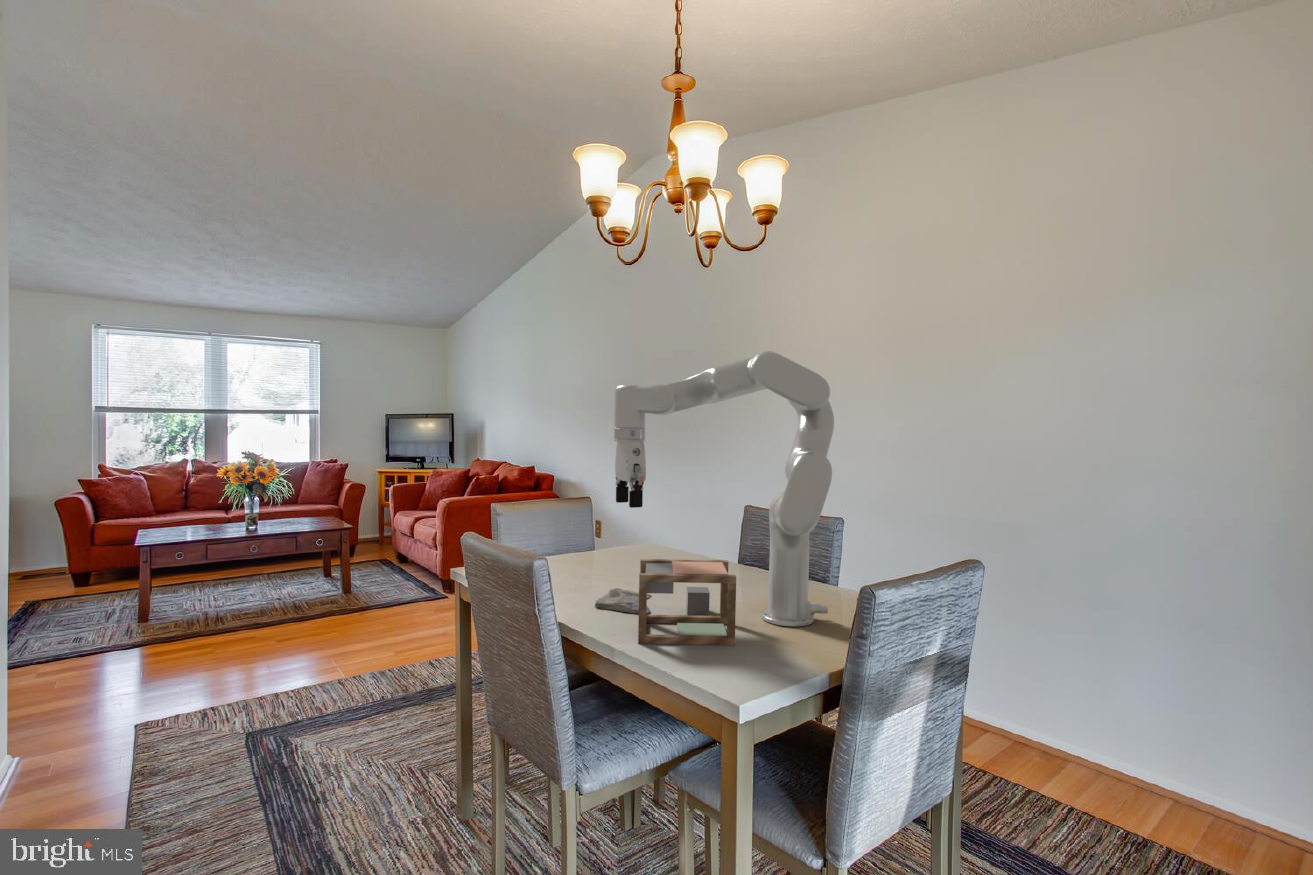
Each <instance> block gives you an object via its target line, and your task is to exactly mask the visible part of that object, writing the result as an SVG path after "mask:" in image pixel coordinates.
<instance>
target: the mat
mask: <svg viewBox="0 0 1313 875" xmlns="http://www.w3.org/2000/svg"><path fill="white" fill-rule="evenodd" d="M676 625H677V626H676V627H677V635H714V636H727V629H726V627H725V624H714V623H676Z"/></svg>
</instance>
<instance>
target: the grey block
mask: <svg viewBox="0 0 1313 875" xmlns="http://www.w3.org/2000/svg"><path fill="white" fill-rule="evenodd" d="M710 595H711V594H710V590H709V587H708V586H707V587H706V586H702V587H701V586H686V600H685V601H686V604H685V605H686V606H685V611H687V612H686V615H698V616H710Z"/></svg>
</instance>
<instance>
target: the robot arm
mask: <svg viewBox="0 0 1313 875" xmlns="http://www.w3.org/2000/svg"><path fill="white" fill-rule="evenodd" d="M763 390H769V391H771V392H773V393H774V394H776V395H778V396H781V398H783V399H786V400H788V403H789V404H790V405H791V406H792V408H794V410H795V411H796V413H797V418H798V424H797V429H796V432H795V436H794V440H793V443H792V446H791V448H790V452H789V454H788V457H787V460H786V463H785V467H784V474H785V477H786V478H787V483H786V486H785V490H784V491H780V492H779V493H778V494H776V495H774V497H773V499H772V500H771V503H770V504H769V511H768V522H769V523H768V525H769V562H768V563H769V567H768V569H769V570H768V571H769V573H768V605H767V606H768V607H767V608H766V609H764V610H763V611H762V612H761V618H762V619H763V620H764V621H765V622H767V623H770V624H773V625H777V626H783V627H805V626H809V625H811V624H813V623H814V621H815V616H814V615H815V614H821V615H823V614H824V615H825V614H828V610H829V608H828V606H827V605H820V603H811V602H810V601H809V578H810V577H809V576H810V575H809V571H810V569H809V566H810V533H811V532H812V531H814V529H815V528H816V527H817V524H818V522H819V521H820V518H821V514H822V511H823V509H824V506H825V503H826V500H827V497H828V492H829V491H830V490H829V489H830V486H831V483H832V480H833V468H832V464H831V462H830V460H829V459H828V452H829V449H830V445H831V442H832V438H833V435H834V428H835V418H834V417H835V416H834V412H833V408H832V406H831V403H830V401H829V398H830V395H831V388H830V385H829V382H828V381H827V380H826V379H825V378H824V376H822V375H821V374H819V373H817V372H815V371H813V370H811V369H809V368H807V367H805V366H803V365H801V364H799V363H798V362H795V361H793V360H791V359H789V358H787V357H786V356H783V355H782V354H780V353H778V352H775V351H769V350H768V351H767V350H766V351H762V352H760V353H757V355H754V356H750V357H747V358H743V359H739V360H736V361H733V362H728V363H725V364H721V365H718V366H714V367H711V368H708V369H705V370H704V371H702V372H700V373H697V374H695V375H693V376H690V377H688V378H685V379H680V380H678V381H674V382H670V383H667V384H663V383H659V384H657V383H656V384H649V385H638V384H621V385H617V386H616V387H615V391H614V431H613V432H614V437H613V438H614V439H613V441H614V442H616V445H615V446H616V448H615V460H614V461H615V466H614V467H615V468H614V470H615V471H614V472H615V473H614V474H615V480H616V481H615V502H616V503H617V504H618V503H629V504H628V506H629V508H631V509H633V508H636V509H637V508H642V507H643V504H644V503H643V500H644V499H643V494H644V492H643V491H644V483H645V481H646V480H647V467H646V466H647V465H646V464H647V463H646V462H647V461H646V448H645V442H646V414H650V415H651V414H652V415H656V416H666V415H670V414H673V413H677V412H681V411H684V410H687V409H690V408H694V407H698V406H702V405H703V406H704V405H709V404H716V403H719V402H723V401H727V400H730V399H734V398H737V397H741V396H745V395H749V394H753V393H757V392H760V391H763ZM628 485H629V486H628ZM629 488H630V489H629Z"/></svg>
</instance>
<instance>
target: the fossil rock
mask: <svg viewBox="0 0 1313 875" xmlns="http://www.w3.org/2000/svg"><path fill="white" fill-rule="evenodd" d="M649 597H650V598H652V597H653V595H651V594H650V593H647V600H648V599H650V598H649ZM595 607H597V609H602V610H609V611H610V610H612V611H617V612H621V613H630V614H636V615H637V614H638V615H639V591H633V590H632V591H631V590H626V589H621V588H619V587H615V588H614V589H609V591H608V592H607V593H606V594H605V595H603V596H602V597H599V598H598V599H597V600H595V602H594V608H595ZM650 610H651V609H650V608H649V607H648V605H647V604H646V615H649V613H650Z"/></svg>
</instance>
